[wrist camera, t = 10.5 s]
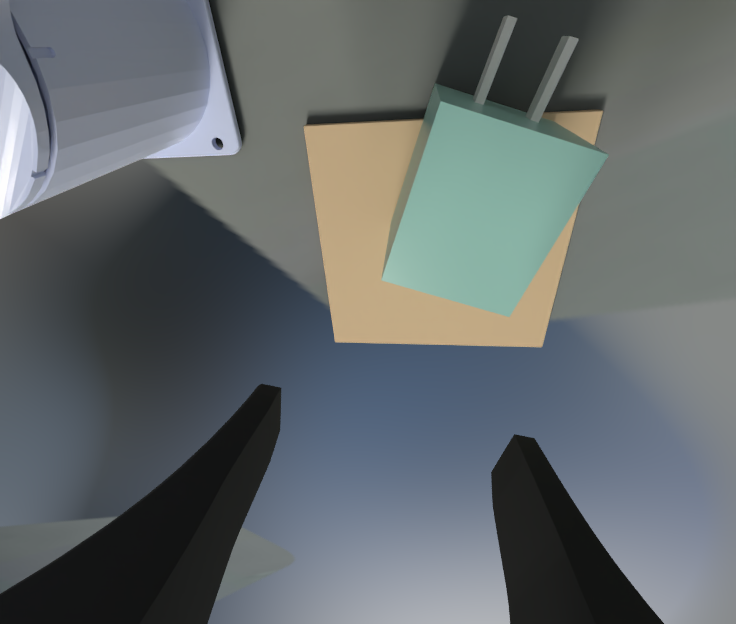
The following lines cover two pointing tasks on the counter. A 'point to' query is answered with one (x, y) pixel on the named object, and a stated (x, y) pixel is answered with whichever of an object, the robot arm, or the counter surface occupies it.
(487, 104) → the charger
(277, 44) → the counter surface
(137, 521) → the robot arm
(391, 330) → the cork mat
